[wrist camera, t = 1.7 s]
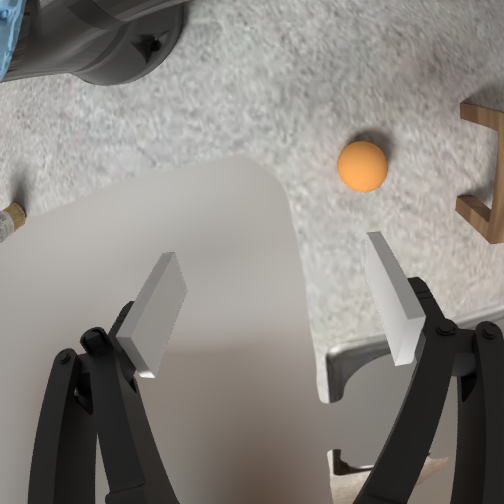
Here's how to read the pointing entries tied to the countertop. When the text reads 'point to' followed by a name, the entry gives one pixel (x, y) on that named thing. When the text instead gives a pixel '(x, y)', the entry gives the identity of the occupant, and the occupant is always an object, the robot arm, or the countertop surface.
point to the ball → (362, 166)
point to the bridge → (500, 215)
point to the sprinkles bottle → (11, 220)
